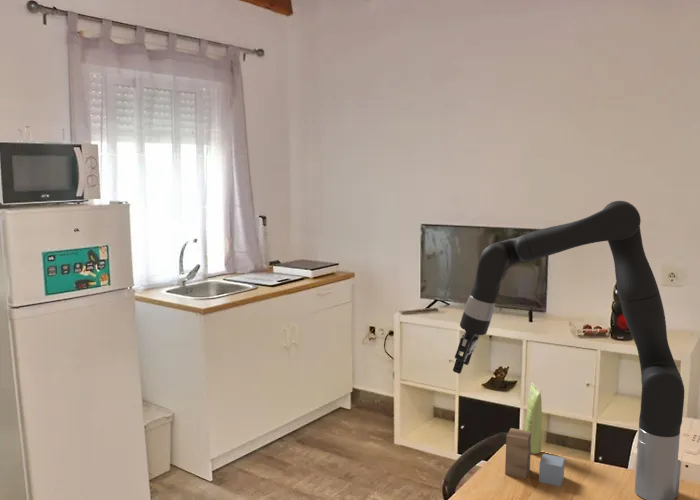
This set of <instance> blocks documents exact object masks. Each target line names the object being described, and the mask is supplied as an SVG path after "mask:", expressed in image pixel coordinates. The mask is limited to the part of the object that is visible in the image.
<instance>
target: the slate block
mask: <svg viewBox="0 0 700 500" xmlns="http://www.w3.org/2000/svg"><path fill="white" fill-rule="evenodd" d="M565 459H566V458H565V457H563V456H562V457H561V456H556V455H553V454H547V453H543V454H542V456H541V458H540V461H539V469H538V482H539V483H543V484H548V485H551V486H556V487H562V484H563V480H564V478H565V461H566V460H565Z"/></svg>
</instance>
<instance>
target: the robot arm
mask: <svg viewBox="0 0 700 500" xmlns="http://www.w3.org/2000/svg"><path fill="white" fill-rule="evenodd" d="M641 221H642V220H641V216H640V212H639V210H638V209H637V207H636V206H634V205H633V204H631V203H630V202H628V201H625V200H615V201H611V202H610V203H608V204H606V205H605V206H604V208H603V209H601V210H599V211H597V212H596V213H593V214H591V215H590V216H586V217H584V218H581V219H578V220H576V221H572V222H567V223H564V224H559V225H553V226H549V227H546V228H542V229H538V230H535V231H531V232H528V233H524V234H522V235H521V236H517V237H514V238H509V239H505V240H501V241H497V242H494V243H491V244H489V245H488V246H486V247H485V248H484V249H483V251H482V252H481V254H480V256H479V257H480V258H479V260H478V264H477V269H476V276H475V279H474V281H473V284H472V288H471V291H470V294H469V296H468V299H467V300H466V303H465V307H464V310H463V313H462V316H461V320H460V322H459V327H460V328H461V329H462V330H464V331H465V332H464V334H462V335H461V338H460V339H459V343H458V347H457V350H456V353H455V355H454V359H455V362H454V366H453V369H452V371H453V373H456V374H459V375H460V374H461V373H462V370H463V368H464V365H466V366H469V364H470V361H471V358H472V355H473V353H474V351H475V350H476V348H477V345H478V342H479V338H480V336H485V335H486V334H488V329H489V327H490V325H491V321H492V318H493V315H494V311H495V306H496V301H497V299H498V295H499V293H500V290H501V289H500V288H501V280H502V278H503V275H504V272H505V270H506V267H509V266H511V265H514V264H518V263H521V262H530V261H534V260H540V259H542V258H546V257H548V256H552V255H555V254H558V253H561V252H562V253H563V252H565V251H568V250H571V249H574V248H578V247H581V246H585V245H589V244H594V243H601V242H607V243H608V245H609V248H610V252H611V254H612V258H613V262H614V271H615V272H614V273H615V283H616V287H617V294H618V299H619V303H620V306H621V309H622V314H623V317H624V320H625V323H626V326H627V328H628V329H629V332H630V334H631V337H632V339H633V341H634V343H635V347H636V349H637V353H638V355H637V356H638V359H639V366H640V374H641V379H640V381H641V398H640V412H639V419H638V433H637V449H636V451H637V452H636V461H635V462H636V464H635V465H636V466H635V479H634V492H635V494H636V495H637V496H639V497H640V498H642V499H644V500H675V499H676V498H679V495H680V492H679V491H680V480H681V479H680V478H681V466H682V462H681V460H679V451H680V439H681V438H680V437H681V436H680V435H681V427H682V423H683V414H684V404H685V385H684V381H683V378H682V375H681V373H680V372H679V371H680V370H679V369H678V366H677V365H676V362H675V359H674V357H673V354H672V351H671V348H670V346H669V341H668V335H667V321H666V316H665V315H666V313H665V309H664V306H663V305H664V304H663V300H662V297H661V294H660V290H659V289H660V288H659V286H658V284H657V281H656V278H655V275H654V273H653V270H652V268H651V265H650V263H649V261H648V258H647V256H646V252H645V250H644V249H645V248H644V245H643V240H642V233H641ZM461 353H463V354H462V355H461Z"/></svg>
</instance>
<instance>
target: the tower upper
mask: <svg viewBox="0 0 700 500" xmlns="http://www.w3.org/2000/svg"><path fill="white" fill-rule="evenodd" d="M505 437H506V438H505V442H506V443H505V456H506V455H507V456H512V457H517V458H522V459H527V458H528V456H529V453H530V451H531V432H530V431H525V429H524V430H523V429H518V428H513V427H510V429H509V431H508V432H507V434H506V436H505Z"/></svg>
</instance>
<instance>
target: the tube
mask: <svg viewBox="0 0 700 500" xmlns="http://www.w3.org/2000/svg"><path fill="white" fill-rule="evenodd" d="M529 388H530V389H529V395H528V401H527V407H526V416H525V427H524V430H525V431H530V432H531V454H535V455H537V454H540V453H541V452H542V443H543V442H542V439H543V437H542V436H543V432H542V431H543V411H542V409H543V408H542V394H541V391H540V389H539V388H538V387H537V386H536V385H535V384H534V383H533V382H532V381H531V382H530V387H529Z"/></svg>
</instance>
